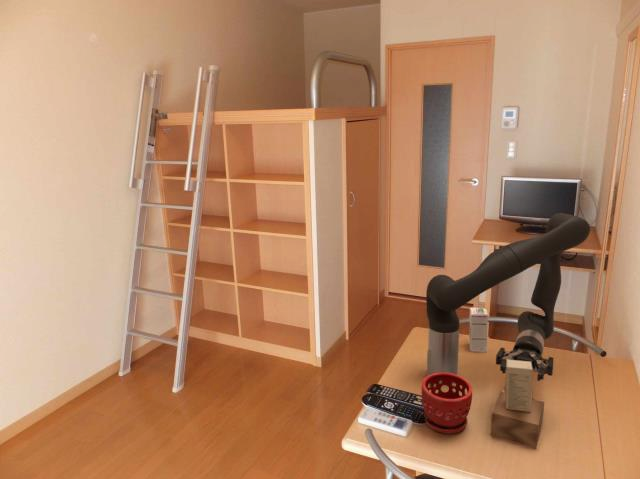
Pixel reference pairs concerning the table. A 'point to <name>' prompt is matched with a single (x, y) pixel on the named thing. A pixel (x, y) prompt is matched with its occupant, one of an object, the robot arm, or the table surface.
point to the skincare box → (518, 385)
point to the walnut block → (517, 422)
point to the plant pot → (446, 402)
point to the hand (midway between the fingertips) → (521, 374)
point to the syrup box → (478, 329)
